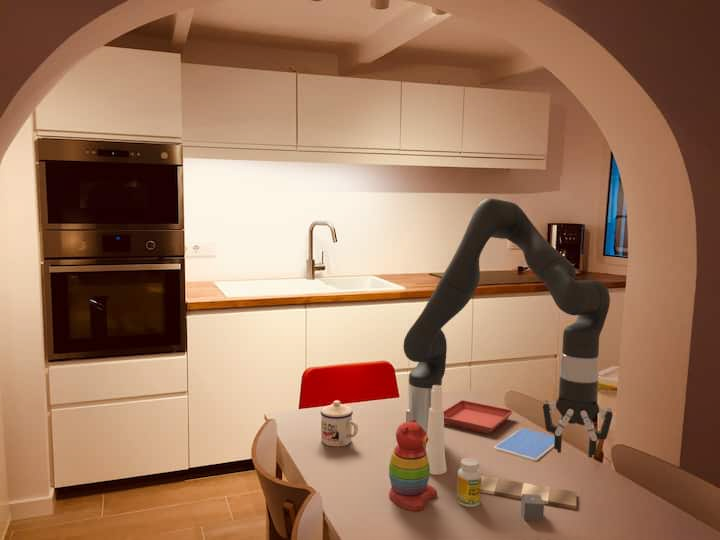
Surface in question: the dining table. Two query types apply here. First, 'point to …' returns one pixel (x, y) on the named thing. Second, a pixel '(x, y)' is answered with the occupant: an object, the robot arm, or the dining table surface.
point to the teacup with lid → (337, 425)
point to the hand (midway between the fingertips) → (574, 453)
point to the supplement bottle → (469, 483)
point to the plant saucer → (475, 416)
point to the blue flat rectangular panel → (527, 444)
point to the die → (532, 507)
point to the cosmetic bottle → (436, 433)
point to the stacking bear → (410, 468)
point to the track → (528, 491)
